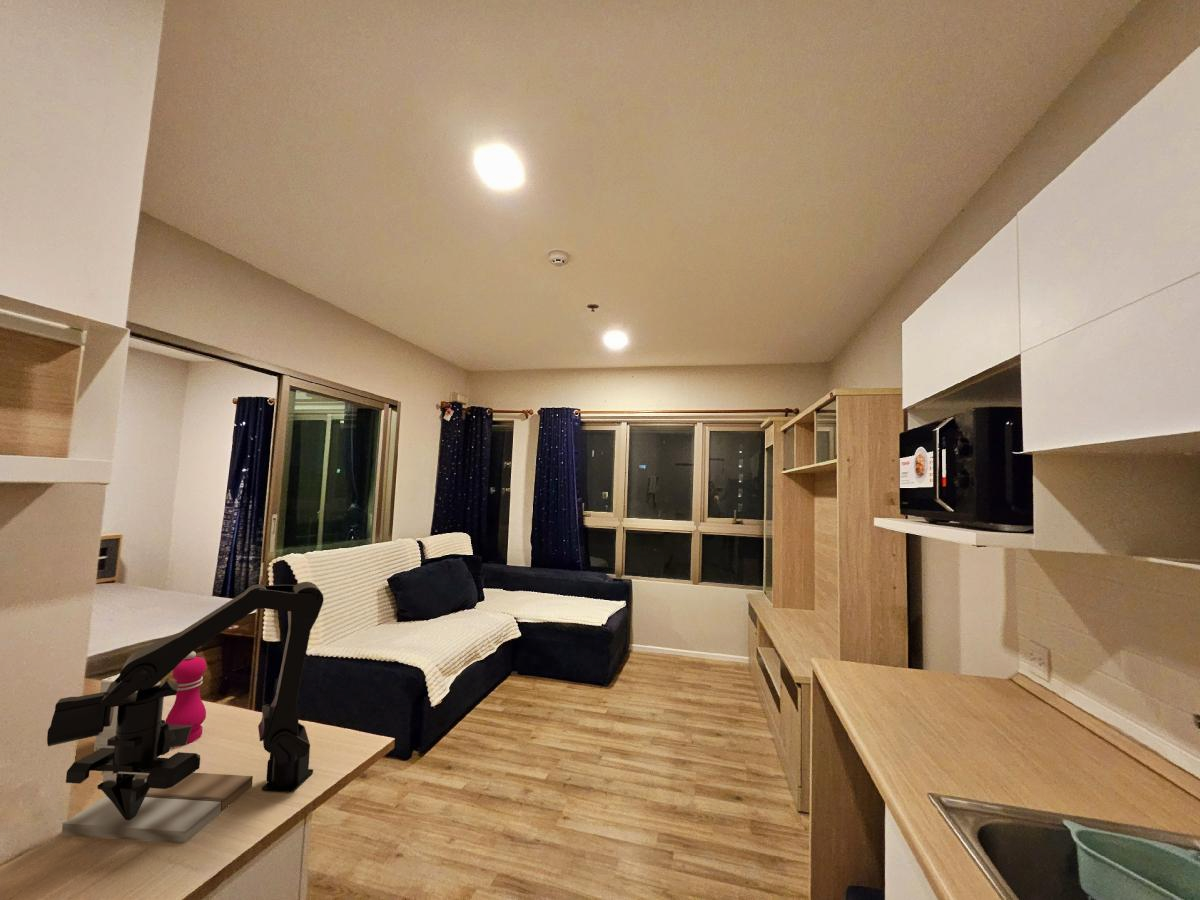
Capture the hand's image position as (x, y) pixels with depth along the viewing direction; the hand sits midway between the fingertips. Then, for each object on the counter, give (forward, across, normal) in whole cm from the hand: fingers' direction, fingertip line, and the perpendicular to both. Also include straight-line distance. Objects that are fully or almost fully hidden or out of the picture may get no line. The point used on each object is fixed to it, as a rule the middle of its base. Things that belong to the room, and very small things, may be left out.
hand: (130, 818), depth 79 cm
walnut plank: (+3, 0, -10) cm, 10 cm away
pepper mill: (+3, +17, -27) cm, 32 cm away
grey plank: (+3, 0, -2) cm, 4 cm away
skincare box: (+3, +28, -24) cm, 37 cm away
